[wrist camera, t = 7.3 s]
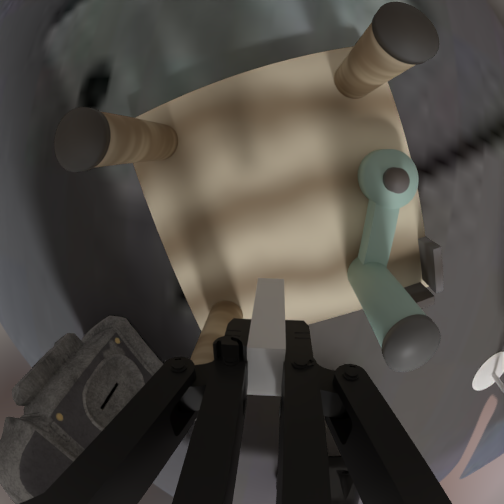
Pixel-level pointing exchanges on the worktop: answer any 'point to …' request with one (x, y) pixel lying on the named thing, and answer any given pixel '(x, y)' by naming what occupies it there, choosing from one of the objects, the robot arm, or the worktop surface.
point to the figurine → (70, 403)
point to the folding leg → (380, 278)
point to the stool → (273, 176)
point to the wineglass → (490, 373)
